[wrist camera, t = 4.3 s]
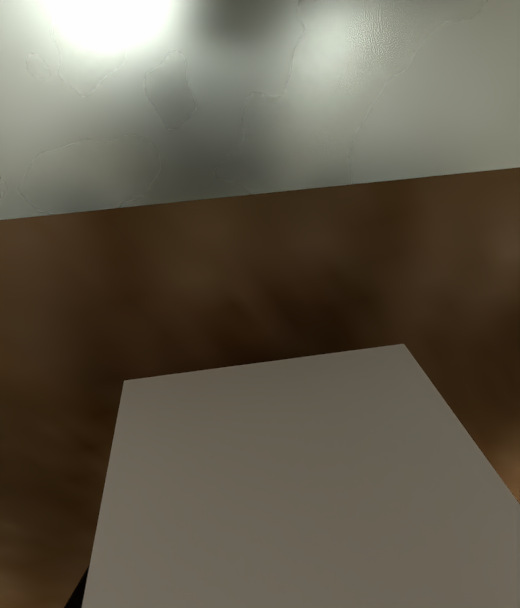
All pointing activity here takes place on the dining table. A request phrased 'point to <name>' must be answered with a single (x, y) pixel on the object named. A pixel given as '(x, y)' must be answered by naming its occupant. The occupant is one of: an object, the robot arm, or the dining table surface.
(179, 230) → the dining table surface
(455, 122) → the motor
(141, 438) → the off-white cube
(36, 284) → the dining table surface
